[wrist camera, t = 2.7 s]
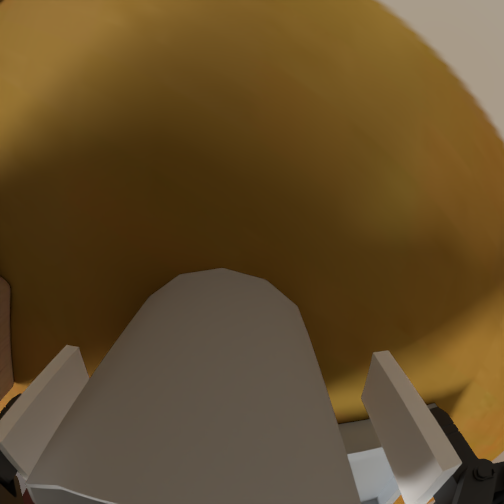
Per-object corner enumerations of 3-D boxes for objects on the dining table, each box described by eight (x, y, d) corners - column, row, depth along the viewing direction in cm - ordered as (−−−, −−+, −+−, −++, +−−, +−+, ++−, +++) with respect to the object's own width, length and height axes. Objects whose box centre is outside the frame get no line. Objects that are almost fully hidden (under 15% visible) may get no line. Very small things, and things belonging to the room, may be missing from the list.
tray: (262, 430, 15) (263, 462, 12) (435, 402, 15) (450, 425, 12) (259, 510, 18) (260, 530, 16) (379, 492, 18) (385, 510, 16)
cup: (336, 298, 12) (450, 497, 3) (276, 420, 14) (291, 578, 5) (148, 246, 12) (-30, 409, 2) (131, 385, 14) (65, 534, 4)
